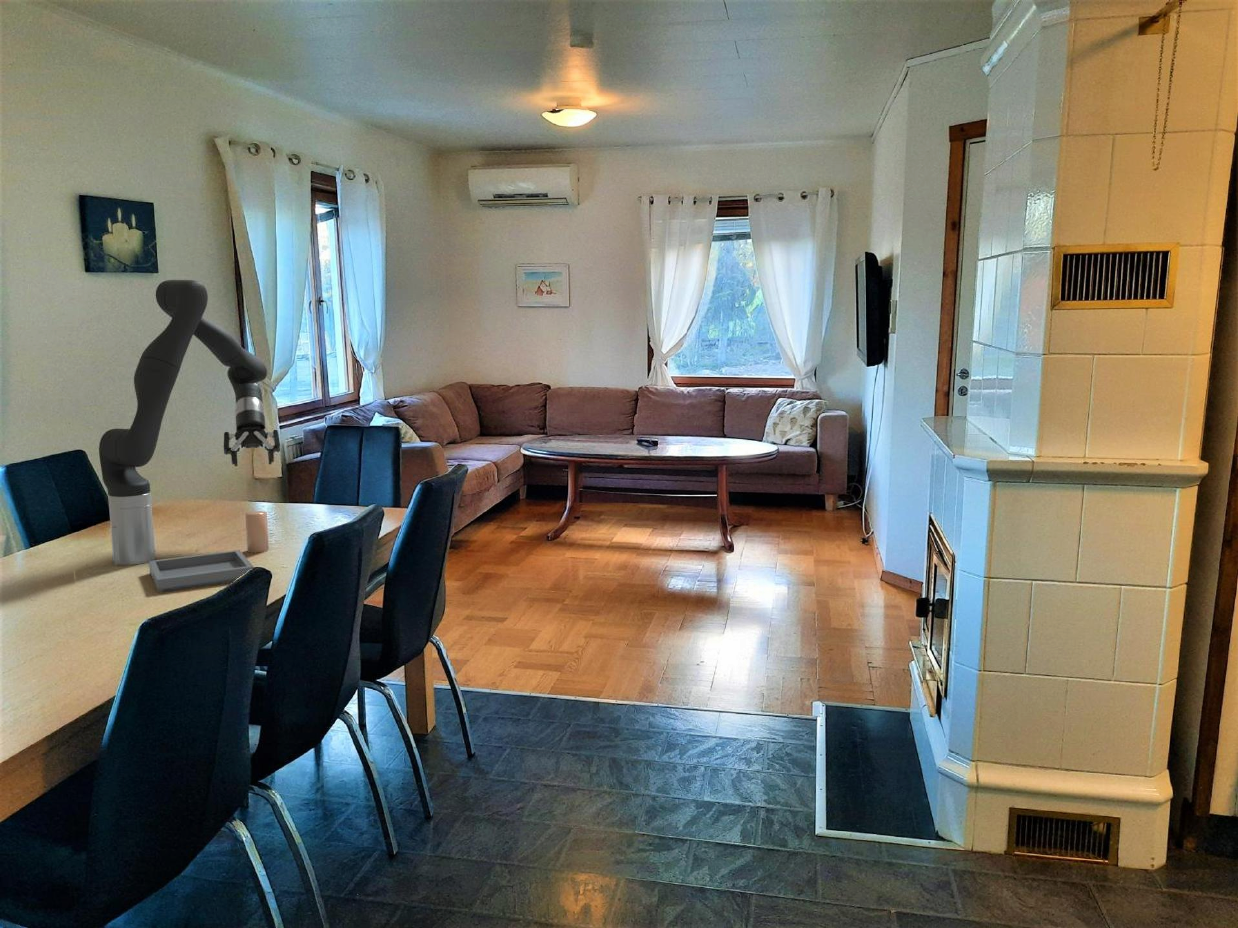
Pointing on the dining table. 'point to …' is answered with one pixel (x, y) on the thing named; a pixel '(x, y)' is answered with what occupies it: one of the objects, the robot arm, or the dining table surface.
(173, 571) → the charcoal tray
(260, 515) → the terracotta canister
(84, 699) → the dining table surface
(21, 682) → the dining table surface
